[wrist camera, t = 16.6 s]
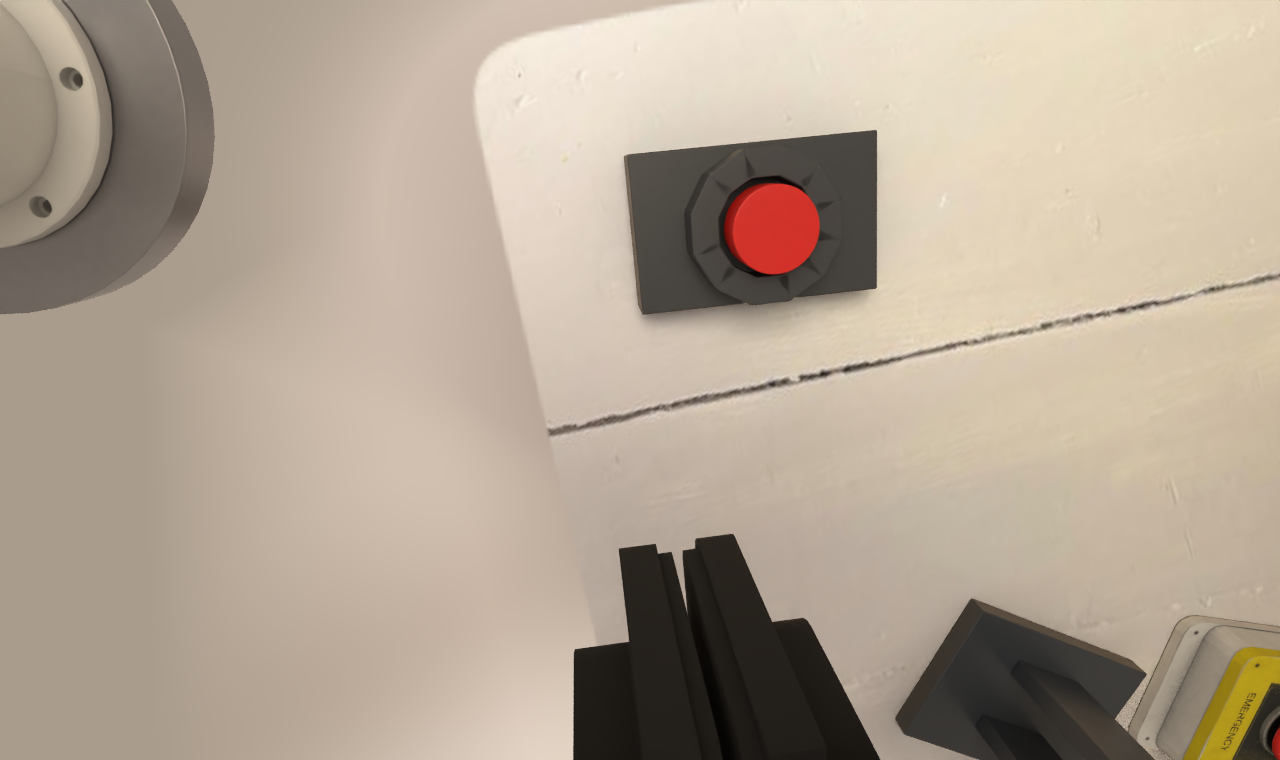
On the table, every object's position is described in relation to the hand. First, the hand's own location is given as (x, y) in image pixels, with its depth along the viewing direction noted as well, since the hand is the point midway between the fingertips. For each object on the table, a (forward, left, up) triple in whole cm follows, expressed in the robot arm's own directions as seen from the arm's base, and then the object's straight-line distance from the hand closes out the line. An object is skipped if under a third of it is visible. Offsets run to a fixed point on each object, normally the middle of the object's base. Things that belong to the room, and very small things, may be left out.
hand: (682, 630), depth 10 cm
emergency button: (+38, -29, -25) cm, 54 cm away
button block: (+7, +4, -25) cm, 26 cm away
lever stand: (+22, -26, -25) cm, 42 cm away
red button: (+7, +4, -22) cm, 23 cm away
